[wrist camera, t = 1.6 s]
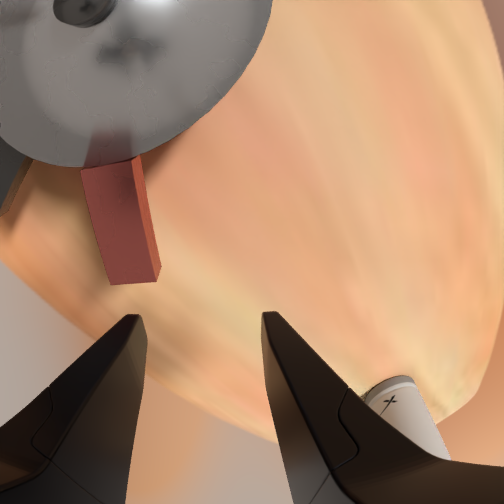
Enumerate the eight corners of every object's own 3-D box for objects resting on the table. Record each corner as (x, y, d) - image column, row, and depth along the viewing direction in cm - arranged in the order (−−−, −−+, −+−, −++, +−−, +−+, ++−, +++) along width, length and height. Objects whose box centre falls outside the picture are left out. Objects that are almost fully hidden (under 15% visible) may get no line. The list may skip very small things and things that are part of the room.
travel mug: (368, 381, 30) (428, 550, 12) (420, 369, 30) (489, 518, 12) (356, 412, 32) (400, 559, 15) (403, 401, 33) (456, 534, 15)
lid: (-6, -44, 6) (-29, -51, 3) (258, -120, 6) (263, -144, 4) (31, 277, 15) (13, 300, 13) (282, 255, 16) (291, 282, 14)
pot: (182, -114, 8) (173, -152, 4) (338, -1, 14) (372, -24, 9) (-31, 131, 15) (-75, 147, 10) (87, 245, 20) (58, 285, 16)
